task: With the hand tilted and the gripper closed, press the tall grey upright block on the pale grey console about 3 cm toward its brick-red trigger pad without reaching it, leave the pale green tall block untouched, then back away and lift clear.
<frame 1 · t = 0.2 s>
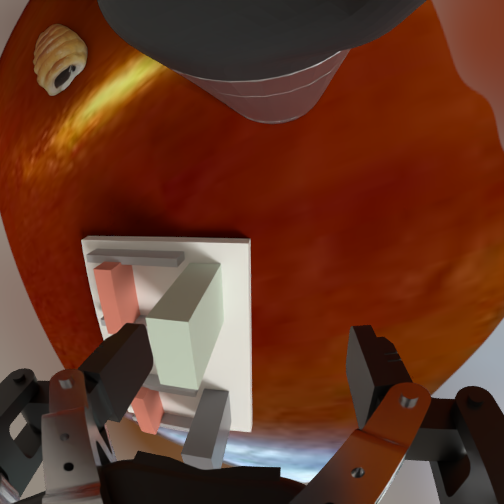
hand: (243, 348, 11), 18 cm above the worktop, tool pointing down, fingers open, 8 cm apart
pastry: (65, 60, 24), on the worktop
console: (174, 345, 34), on the worktop
grey upright block: (209, 436, 30), point 7 cm above the worktop, slide at 0.0 cm
pale green tall block: (192, 319, 24), point 7 cm above the worktop, slide at 0.0 cm
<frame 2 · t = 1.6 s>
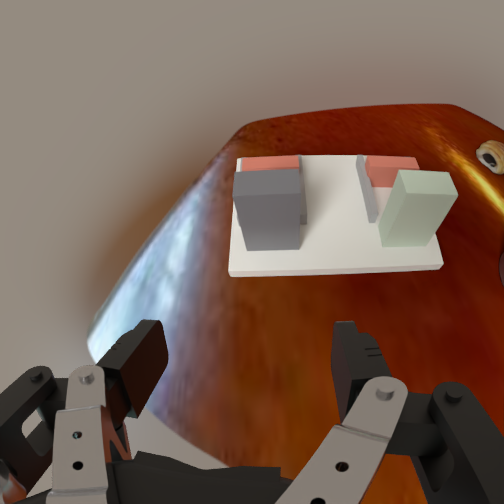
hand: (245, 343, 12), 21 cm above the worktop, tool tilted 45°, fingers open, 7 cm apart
pastry: (491, 161, 41), on the worktop
console: (334, 210, 39), on the worktop
grey upright block: (270, 214, 32), point 7 cm above the worktop, slide at 0.0 cm
pale green tall block: (414, 211, 30), point 7 cm above the worktop, slide at 0.0 cm
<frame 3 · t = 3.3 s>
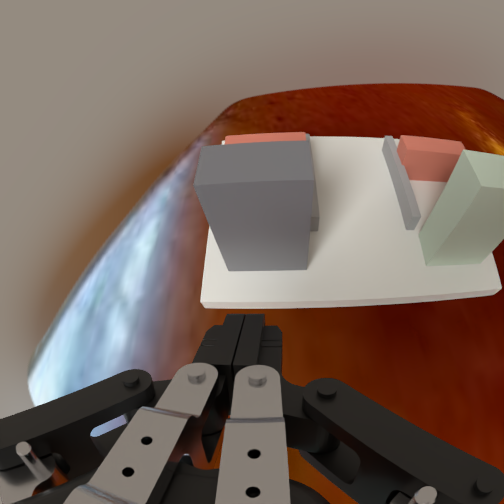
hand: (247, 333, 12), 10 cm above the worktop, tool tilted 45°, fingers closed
console: (355, 212, 27), on the worktop
grey upright block: (262, 216, 20), point 7 cm above the worktop, slide at 0.0 cm
pale green tall block: (475, 216, 18), point 7 cm above the worktop, slide at 0.0 cm
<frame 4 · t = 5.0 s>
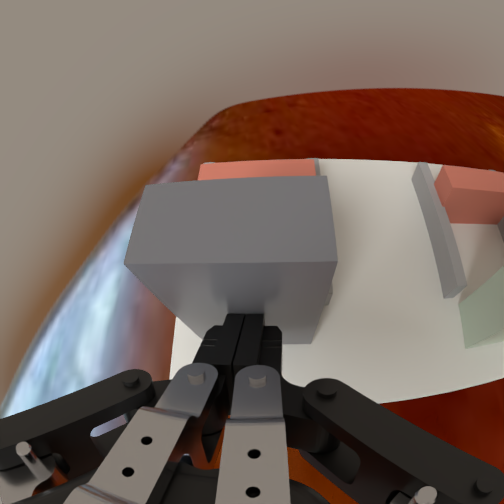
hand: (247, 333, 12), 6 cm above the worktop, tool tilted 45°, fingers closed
console: (378, 268, 20), on the worktop
grey upright block: (247, 285, 13), point 7 cm above the worktop, slide at 1.2 cm, touching gripper
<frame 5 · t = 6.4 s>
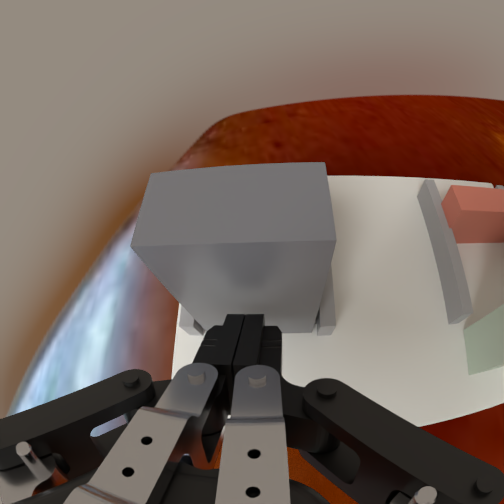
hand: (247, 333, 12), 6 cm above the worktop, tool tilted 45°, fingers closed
console: (381, 293, 19), on the worktop
grey upright block: (249, 272, 14), point 7 cm above the worktop, slide at 3.7 cm
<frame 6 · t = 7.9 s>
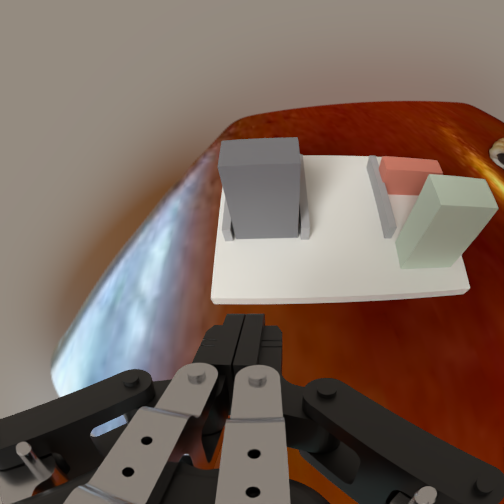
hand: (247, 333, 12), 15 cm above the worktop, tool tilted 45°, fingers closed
console: (341, 222, 32), on the worktop
grey upright block: (263, 193, 27), point 7 cm above the worktop, slide at 3.7 cm
pale green tall block: (442, 227, 23), point 7 cm above the worktop, slide at 0.0 cm
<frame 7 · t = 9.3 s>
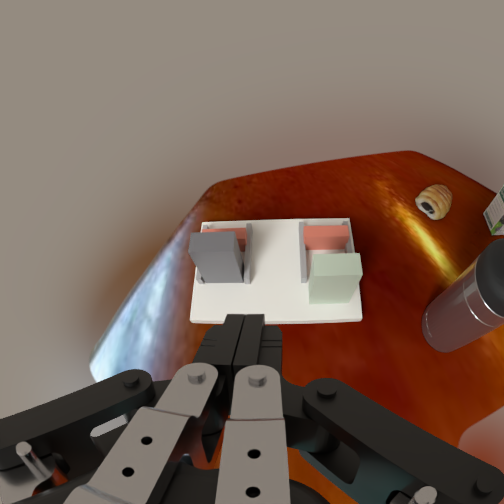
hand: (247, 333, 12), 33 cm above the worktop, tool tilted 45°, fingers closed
pastry: (432, 205, 54), on the worktop
console: (276, 270, 50), on the worktop
syrup box: (495, 224, 49), on the worktop
grey upright block: (218, 259, 44), point 7 cm above the worktop, slide at 3.7 cm
pale green tall block: (332, 281, 41), point 7 cm above the worktop, slide at 0.0 cm
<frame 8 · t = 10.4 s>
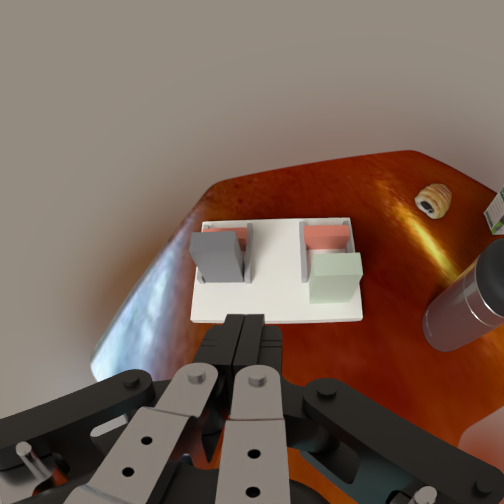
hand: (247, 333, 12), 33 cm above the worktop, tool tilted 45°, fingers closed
pastry: (431, 204, 54), on the worktop
console: (276, 270, 50), on the worktop
syrup box: (495, 224, 49), on the worktop
grey upright block: (219, 259, 45), point 7 cm above the worktop, slide at 3.7 cm
pale green tall block: (333, 280, 41), point 7 cm above the worktop, slide at 0.0 cm
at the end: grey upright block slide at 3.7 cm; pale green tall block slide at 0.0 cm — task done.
